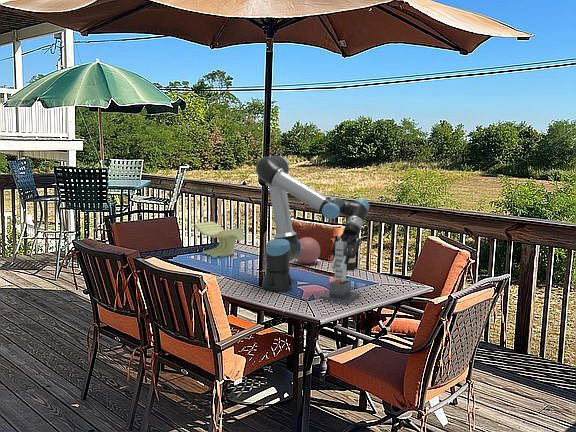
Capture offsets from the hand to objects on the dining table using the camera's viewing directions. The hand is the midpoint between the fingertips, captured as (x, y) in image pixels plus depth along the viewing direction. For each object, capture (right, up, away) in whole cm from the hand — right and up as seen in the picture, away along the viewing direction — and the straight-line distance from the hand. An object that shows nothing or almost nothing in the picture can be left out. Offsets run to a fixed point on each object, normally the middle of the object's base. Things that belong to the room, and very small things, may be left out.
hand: (337, 268), depth 267 cm
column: (+2, -8, +4) cm, 9 cm away
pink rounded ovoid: (-13, -4, +72) cm, 73 cm away
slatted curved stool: (-65, 0, +95) cm, 115 cm away
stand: (+2, -14, +6) cm, 16 cm away
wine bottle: (+11, -6, +62) cm, 64 cm away
